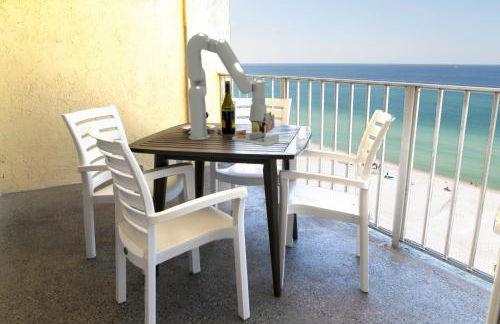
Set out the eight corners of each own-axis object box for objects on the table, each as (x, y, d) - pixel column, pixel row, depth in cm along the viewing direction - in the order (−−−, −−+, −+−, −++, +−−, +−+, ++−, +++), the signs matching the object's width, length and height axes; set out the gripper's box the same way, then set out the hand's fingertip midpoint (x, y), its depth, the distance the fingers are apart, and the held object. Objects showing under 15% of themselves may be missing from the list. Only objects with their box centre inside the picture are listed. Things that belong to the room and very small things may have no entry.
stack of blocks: (265, 127, 259) (265, 109, 256) (274, 127, 258) (274, 109, 255) (257, 132, 240) (257, 113, 237) (267, 133, 238) (266, 113, 235)
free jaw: (233, 136, 218) (233, 131, 217) (245, 134, 224) (245, 129, 224) (250, 139, 209) (250, 134, 208) (262, 136, 216) (262, 131, 215)
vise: (232, 139, 219) (231, 132, 218) (244, 137, 226) (244, 129, 225) (267, 145, 201) (267, 137, 200) (279, 142, 208) (278, 134, 207)
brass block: (251, 136, 225) (251, 121, 222) (259, 134, 229) (259, 120, 227) (257, 137, 221) (257, 122, 219) (265, 135, 226) (265, 121, 224)
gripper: (243, 101, 223) (244, 131, 228) (265, 103, 212) (265, 135, 216) (252, 100, 228) (252, 130, 233) (273, 102, 217) (273, 133, 222)
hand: (258, 132), depth 225 cm, fingers closed on brass block, 5 cm apart
